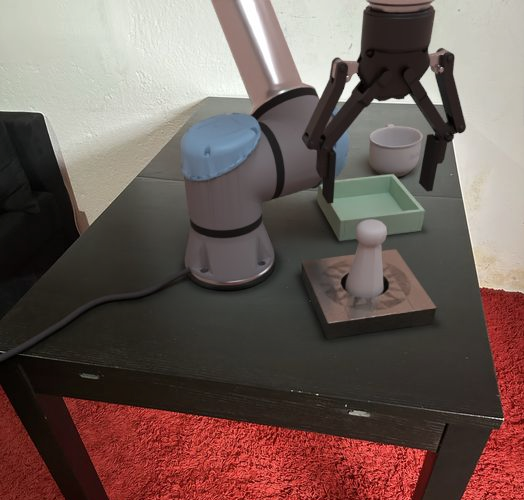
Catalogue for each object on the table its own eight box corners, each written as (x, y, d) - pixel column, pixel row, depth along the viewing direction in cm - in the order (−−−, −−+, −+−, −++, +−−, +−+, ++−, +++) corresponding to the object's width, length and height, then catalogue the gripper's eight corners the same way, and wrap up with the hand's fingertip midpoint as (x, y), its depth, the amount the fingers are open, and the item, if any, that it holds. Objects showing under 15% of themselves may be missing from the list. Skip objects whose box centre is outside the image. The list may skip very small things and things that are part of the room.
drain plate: (326, 339, 75) (328, 323, 73) (301, 276, 87) (301, 261, 85) (432, 323, 77) (436, 307, 75) (393, 264, 89) (395, 248, 86)
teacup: (416, 183, 110) (423, 145, 105) (364, 180, 112) (368, 143, 107) (416, 156, 120) (422, 120, 115) (368, 154, 122) (371, 118, 117)
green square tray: (339, 241, 94) (340, 220, 92) (317, 201, 106) (317, 182, 103) (421, 230, 96) (425, 210, 93) (391, 193, 107) (393, 173, 105)
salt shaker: (339, 305, 81) (346, 230, 72) (349, 284, 85) (356, 211, 76) (377, 313, 79) (388, 237, 70) (385, 291, 83) (396, 217, 74)
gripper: (292, 20, 51) (292, 217, 66) (528, 1, 54) (478, 194, 68) (277, 6, 57) (279, 191, 71) (491, -10, 60) (452, 170, 74)
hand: (377, 193), depth 70 cm, fingers open, 13 cm apart
